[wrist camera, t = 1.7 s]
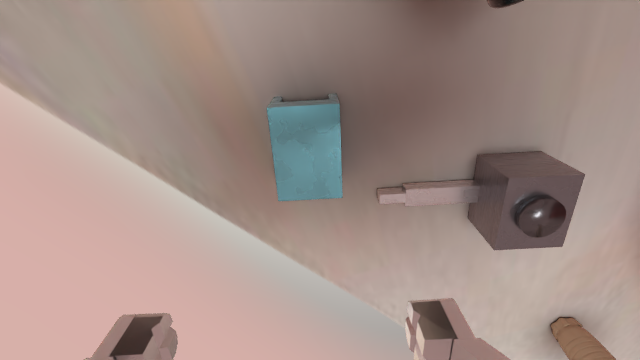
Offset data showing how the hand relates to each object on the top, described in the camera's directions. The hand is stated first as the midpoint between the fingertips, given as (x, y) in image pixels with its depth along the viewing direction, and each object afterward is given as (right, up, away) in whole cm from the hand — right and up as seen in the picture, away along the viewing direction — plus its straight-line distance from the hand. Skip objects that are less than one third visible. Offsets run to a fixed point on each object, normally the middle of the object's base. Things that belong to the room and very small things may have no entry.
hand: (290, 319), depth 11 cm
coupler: (+14, +4, +21) cm, 26 cm away
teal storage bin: (0, +9, +19) cm, 21 cm away
